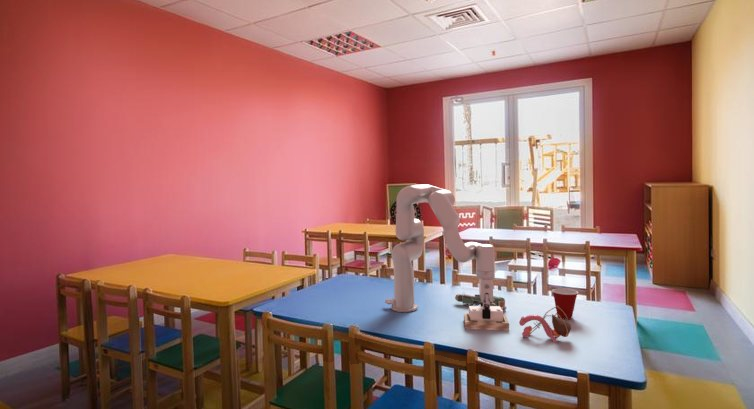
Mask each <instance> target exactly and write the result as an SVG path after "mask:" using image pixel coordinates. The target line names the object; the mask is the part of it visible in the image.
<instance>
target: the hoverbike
mask: <svg viewBox="0 0 754 409" xmlns="http://www.w3.org/2000/svg"><path fill="white" fill-rule="evenodd" d="M454 298H455V299H454V300H456V301H457V302H461V303H462V305H464V306H481V299H480V294H477V293H476V294H474V295H471V294H470V295H469V294H465V293H463V294H461V293H457V294H456V295H455V297H454ZM490 306H500V308H501V309H502V311H503V313H504V312H505V311H506V310H507V306H506V299H505V298H504V297H502V296H497V295H496V296H495V295H493V303H492V302H490Z"/></svg>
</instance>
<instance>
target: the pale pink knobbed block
mask: <svg viewBox="0 0 754 409" xmlns="http://www.w3.org/2000/svg"><path fill="white" fill-rule="evenodd" d="M482 309H483V306H481V305H476V306H474V305H472V306H470V305H468V313H469V317H470V319H471V320H481V321H503V314H504V312H503V311H504V310H502V309H501V308H500V306H490V319H483V318H482Z"/></svg>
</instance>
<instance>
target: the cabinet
mask: <svg viewBox="0 0 754 409" xmlns="http://www.w3.org/2000/svg"><path fill="white" fill-rule="evenodd" d="M463 322H464V330H479V331H480V330H482V331H483V330H484V331H510V322H509V320H508V318H507V316H506V313H505V314H504V313H503V321H481V320H471V319H470V317H469V312H468V313H466V312H464V313H463Z"/></svg>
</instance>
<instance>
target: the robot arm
mask: <svg viewBox="0 0 754 409" xmlns="http://www.w3.org/2000/svg"><path fill="white" fill-rule="evenodd" d="M455 200H456V198H455V195H454V193H452V192H451V191H450V190H448V189H444V188H442V187H441V188H440V187H437V186H434V185H431V184H426V183H423V184H411V185H410V184H409V185H407V186H404V187H403V188H401V189H400V190H399V191H398V193H397V196H396V214H395V215H396V216H395V236H396V238H397V239H398V240H400V241H404V242H400V243H397V244H396V245H394V246H393V248H392V250H391V253H390V254H391V260H392V267H393V290H394V291H393V292H394V297H393V298H391V299H390V298H385V304H387V305H391V306H390V307H391V308H390V309H391V310H392V311H394V312H398V313H411V312H414V311H416V310H418V308H419V306H418V305H417V303H415V272H414V270H415V269H414V267H413V263H412V261H415V260H418V259H419V258H420V257H421V256H422V255H423V251H424V250H423V249H424V237H425V236H424V235H425V234H424V233H425V228H424V225H423V223H422V222H421V220H420V219H418V218H415V216H416V215H415V213H416V212H415V207H414V204H422V203H427V204H429V206H430V208H431V210H432V211H433V213H434V215H435V217H436V218H437V220H438V222H439V223H440V225H441V227H442V229H443V230H442V233H443V238H444V243H445V245H446V247H447V248H448V250H449V252H450V254H451V255H452V257H453V258H454V259H455V260H456V261H457V262H459V263H466V262H469V261H472V260H475V262H476V264H475V266H476V267H475V270H476V271H475V277H476V278H477V279H478V290H479V292H478V293H479V295H480V299H481V304H480V306H483V309H482V318H483V319H490V302H492V303H493V296H494V284H493V281H494V279H495V275H496V274H495V273H496V272H495V270H496V266H495V265H496V264H495V263H496V262H495V261H496V258H495V257H496V250H495V246H494V245H493V244H489V243H479V242H476V241H468V242H464V241H463V239H462V237H461V235H460V233H459V225H460V221H461V218H460V216H459V214H458V212H457V211H456V209H455V208H454V204H455V202H456V201H455Z"/></svg>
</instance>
